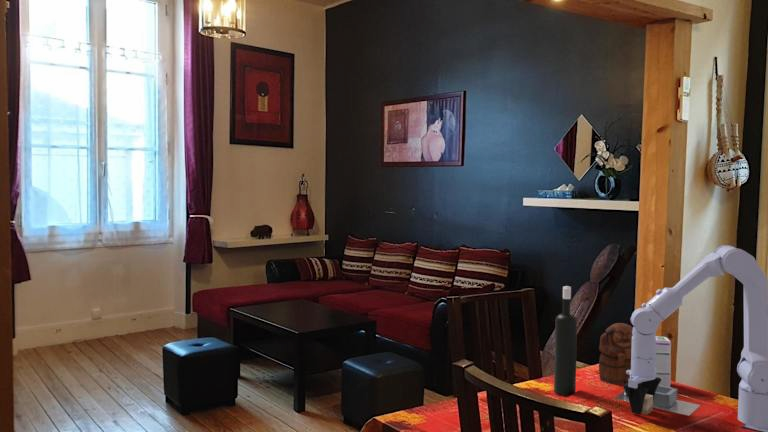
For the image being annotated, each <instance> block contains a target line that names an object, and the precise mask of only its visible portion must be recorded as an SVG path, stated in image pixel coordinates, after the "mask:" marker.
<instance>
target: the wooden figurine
mask: <svg viewBox="0 0 768 432" xmlns="http://www.w3.org/2000/svg"><path fill="white" fill-rule="evenodd" d="M632 331H633V326H631V325H629V324H627V323H624V322H616V323H613V324H610V326H608V327H607V328H606V329H605V332H603V333H602V334H601V336H599V337H600V338H599V347H598V350H599V352H600V354H599V355H600V356H599V363H598V375H599V380H600V382H604V383H606V384H609V385H616V386H617V385H618V386H624V384H625V383H628V379H630V375H629V374H626V371H627V370H631V346H632V336H633V335H632Z"/></svg>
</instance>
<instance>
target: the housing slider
mask: <svg viewBox="0 0 768 432" xmlns="http://www.w3.org/2000/svg"><path fill="white" fill-rule="evenodd" d="M678 389H679V388H677V387H671V386H670V387H666V386H662V385H658V387H657V389H656V392H655V395H654V399H653V404H656V405H661V406H665V407H669V406H671V405H672V404H673V403H674V402H675V401H677V400H678V393H679V392H678Z"/></svg>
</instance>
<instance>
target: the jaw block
mask: <svg viewBox="0 0 768 432" xmlns="http://www.w3.org/2000/svg"><path fill="white" fill-rule="evenodd" d="M653 410H654V409H653V395H649V394H646V395H645V398H644V402H643V409H642V412H641V414H642V415H645V416H647V415H649V414H651V413H652V412H653ZM641 414H640V415H641Z"/></svg>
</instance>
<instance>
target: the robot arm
mask: <svg viewBox="0 0 768 432" xmlns="http://www.w3.org/2000/svg"><path fill="white" fill-rule="evenodd" d="M724 272H726V273H727V274H730V275H732V276H733V277H734V278H736V280H738V281H739V282H740V283H741V284H742V285H743V348H742V350H741V353H740V360H739V362H738V363H737V367H736V372H737V375H738V376H739V377H740V378H741V380H740V382H739V384H738V401H737V402H738V404H737V406H738V407H737V420H738V421H739V422H741V423H743V425H742V426H741V427H742V428H745V429H750V430H753V431H754V430H755V431H759V432H768V277H767V275H766V273H765V272H764V271H763V269H762V268H761V267H760V265H759V264H758V262H757V260H756V259H755V257H754V256H753V255H751V254H750V253H748V251H746V250H743V249H741V248H738V247H737V248H736V247H735V246H733V245H729V244H723V245H720V246H718V247H717V248H716V249H715V250H714V251H713V252H710V253H709V254H707V255H706V256H705V257H704V258H702V260H701V261H700V262H699V263H697V264H696V265H695V266H694V267H693V268H692V269H691V270H690V271H689V272H688V273H687V274H686V275H684V277H682V278H681V279H680V280H679V281H678V282H677V283H676V284H675V285H674V286H673V287H663V289H660V288H658V289H657V290H656V291H655V295H654V296H653V297H652V298H651V299H650V300H648V301H647V302H643V303H642V304H641V307H640V308H637V309H635V310H634V311H632V314H631V317H629V319H630V323H631V325H632V328H633V331H632V335H633V336H632V346H631V370H627V371H626V374H629V375H630V379H628V383H625V384H624V385H623V389H625V391H626V393H627V395H628V398H629V402H628V403H629V405H630V412H631V413H632V414H636V415H641V412H642V409H643V402H644V398H645V395H646V394H649V395H653V399H654V395H655V392H656V389H657V387H658V385H659V383H660V382H661V378H658V377H656V368H655V362H656V339H655V336H657V335H656V333H657V331H658V330H659V327H660V323H662V322H664V321H665V320H666V319H667V318H668V317H670V316H671V315H672V314H673V313H674V312H675V311H677V310H678V309H679V308H680V307H681V306H683V300H684V299H683V298H684V297H685V296H687V295H688V294H689V293H690V292H692V291H693V290H694V289H696V288H697V287H698V286H700V285H702V284H703V282H705V281H706V280H708V279H709V278H712V277H713V278H714V277H723V276H724V277H725V274H724Z"/></svg>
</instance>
